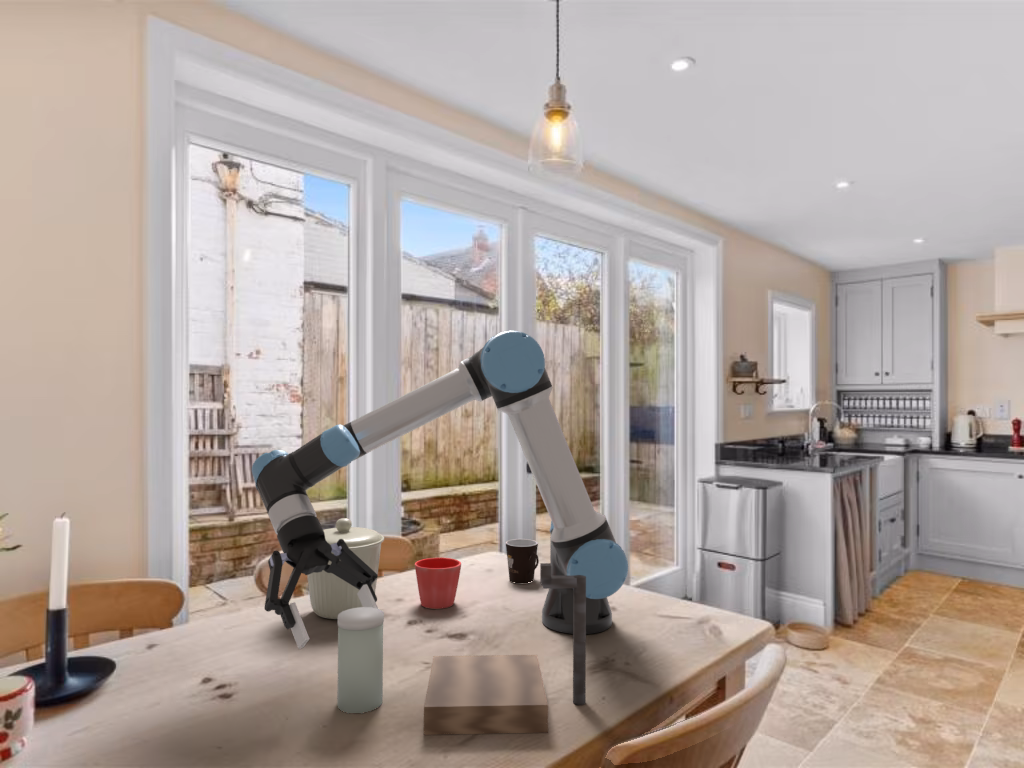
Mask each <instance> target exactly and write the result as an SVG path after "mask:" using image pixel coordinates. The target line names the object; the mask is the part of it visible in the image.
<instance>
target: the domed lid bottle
mask: <svg viewBox="0 0 1024 768" xmlns="http://www.w3.org/2000/svg"><path fill="white" fill-rule="evenodd" d="M384 622H385V612H384V611H383V609H380V608H379V607H378V608H373V607H358V608H352V609H348V610H345V611H343V612H341V613H339V614H338V619H337V628H338V629H337V630H338V631H337V633H338V634H337V698H336V699H337V700H336V701H337V706H338V707H337V709H338V708H339V709H340V710H341V711H340V710H339V709H338V710H339V711H340V712H342V711H344V712H343V713H345V712H347V713H346V714H349V713H361V714H364V713H363V712H367V713H369V712H368V711H370V712H372V711H371V710H373V711H375V710H376V709H375V708H377V707H378V708H380V707H381V706H382V704H383V696H384V695H383V691H384V690H383V686H384V683H383V681H384V675H383V673H384V672H383V670H384ZM378 708H377V709H378ZM374 709H375V710H374Z"/></svg>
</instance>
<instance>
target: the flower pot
mask: <svg viewBox="0 0 1024 768" xmlns="http://www.w3.org/2000/svg"><path fill="white" fill-rule="evenodd" d="M414 567H415V569H414V570H415V576H416V582H417V589H418V595H419V600H420V605H421V607H424V608H426V609H431V610H441V609H442V610H443V609H447V608H450V607H452V606H453V605H454V604H455V600H456V595H457V592H458V591H457V590H458V586H459V580H460V575H461V568H462V562H461V561H460V560H458V559H455V558H451V557H450V558H449V557H429V558H424V559H420V560H418V561H416V562H415V563H414Z"/></svg>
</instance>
